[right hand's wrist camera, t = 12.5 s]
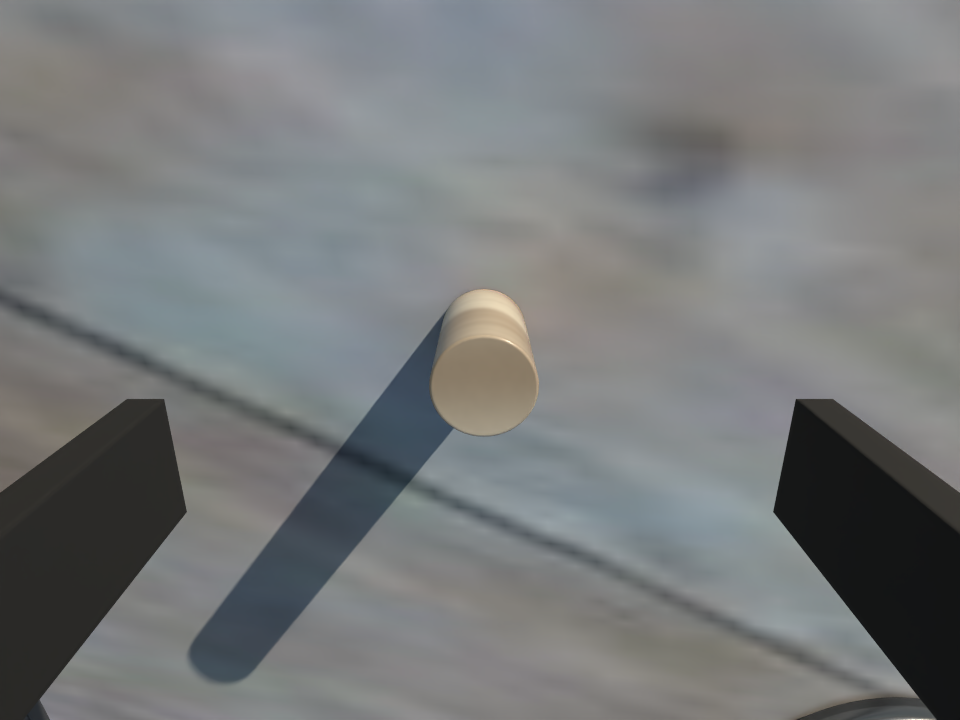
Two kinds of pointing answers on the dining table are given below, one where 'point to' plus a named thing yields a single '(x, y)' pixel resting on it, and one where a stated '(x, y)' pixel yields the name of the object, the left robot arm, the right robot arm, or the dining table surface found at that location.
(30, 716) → the tray
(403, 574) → the dining table surface
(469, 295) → the cream peg
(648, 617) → the dining table surface
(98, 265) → the dining table surface
